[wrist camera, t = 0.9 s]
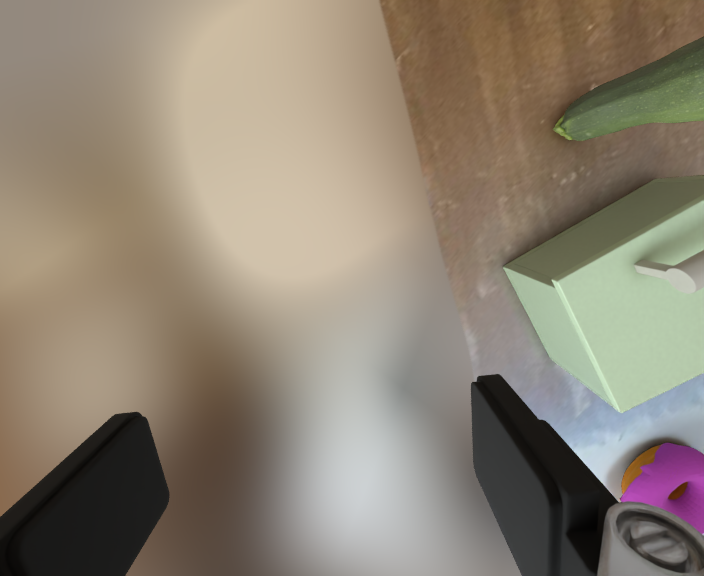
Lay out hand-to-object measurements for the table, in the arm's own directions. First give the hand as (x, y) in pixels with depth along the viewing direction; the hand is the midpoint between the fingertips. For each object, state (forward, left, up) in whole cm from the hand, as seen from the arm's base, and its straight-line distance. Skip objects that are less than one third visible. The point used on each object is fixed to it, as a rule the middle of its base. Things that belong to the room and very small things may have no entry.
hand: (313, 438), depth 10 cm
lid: (+13, +22, -16) cm, 30 cm away
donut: (+39, +18, -25) cm, 50 cm away
